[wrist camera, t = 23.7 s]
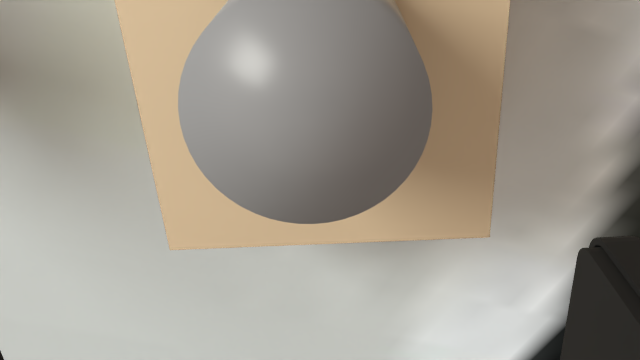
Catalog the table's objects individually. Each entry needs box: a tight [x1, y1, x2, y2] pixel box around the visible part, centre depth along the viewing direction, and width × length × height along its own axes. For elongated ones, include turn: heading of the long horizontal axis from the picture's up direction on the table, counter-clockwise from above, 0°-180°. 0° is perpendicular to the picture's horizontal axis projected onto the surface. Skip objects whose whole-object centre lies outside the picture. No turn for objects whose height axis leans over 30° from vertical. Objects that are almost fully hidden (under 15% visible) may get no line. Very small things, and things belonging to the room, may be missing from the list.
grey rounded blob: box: [178, 0, 432, 224], centre depth 17 cm, size 6×6×6 cm
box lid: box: [115, 0, 510, 250], centre depth 20 cm, size 16×13×1 cm
